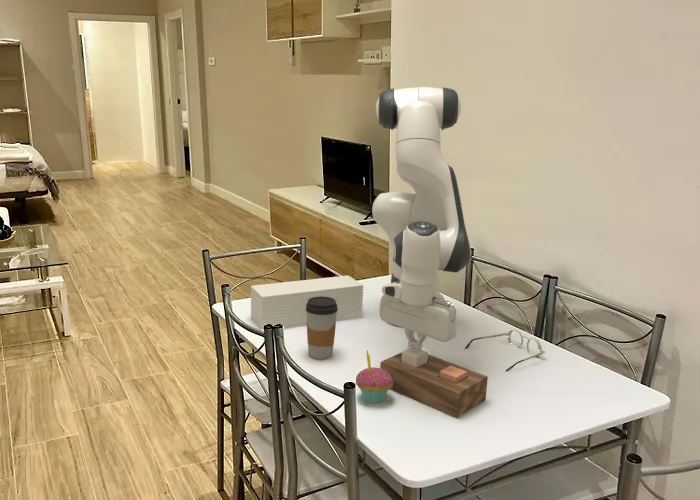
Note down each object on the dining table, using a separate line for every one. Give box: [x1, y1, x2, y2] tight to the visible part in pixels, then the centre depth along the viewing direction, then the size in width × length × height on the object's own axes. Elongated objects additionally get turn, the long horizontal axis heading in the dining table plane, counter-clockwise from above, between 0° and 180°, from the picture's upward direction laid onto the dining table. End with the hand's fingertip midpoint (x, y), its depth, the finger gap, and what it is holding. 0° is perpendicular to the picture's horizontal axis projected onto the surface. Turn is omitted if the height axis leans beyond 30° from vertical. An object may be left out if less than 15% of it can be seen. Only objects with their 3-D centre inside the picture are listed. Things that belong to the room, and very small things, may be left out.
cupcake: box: [355, 350, 393, 404], centre depth 147 cm, size 9×8×12 cm
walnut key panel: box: [379, 351, 489, 419], centre depth 152 cm, size 12×22×6 cm, turn 47°
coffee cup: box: [306, 297, 338, 360], centre depth 169 cm, size 8×8×15 cm
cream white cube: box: [401, 347, 429, 368], centre depth 155 cm, size 4×4×4 cm
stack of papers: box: [250, 275, 364, 330], centre depth 196 cm, size 32×11×11 cm, turn 116°
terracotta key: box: [439, 366, 467, 384], centre depth 148 cm, size 4×4×4 cm
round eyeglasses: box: [464, 329, 546, 372], centre depth 175 cm, size 17×15×5 cm
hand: (414, 348), depth 154 cm, fingers closed
